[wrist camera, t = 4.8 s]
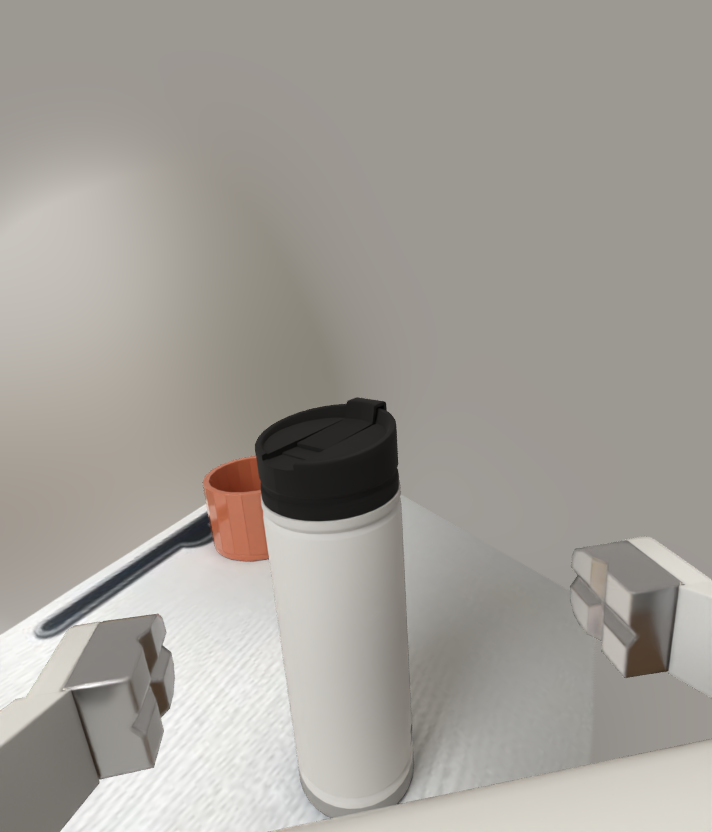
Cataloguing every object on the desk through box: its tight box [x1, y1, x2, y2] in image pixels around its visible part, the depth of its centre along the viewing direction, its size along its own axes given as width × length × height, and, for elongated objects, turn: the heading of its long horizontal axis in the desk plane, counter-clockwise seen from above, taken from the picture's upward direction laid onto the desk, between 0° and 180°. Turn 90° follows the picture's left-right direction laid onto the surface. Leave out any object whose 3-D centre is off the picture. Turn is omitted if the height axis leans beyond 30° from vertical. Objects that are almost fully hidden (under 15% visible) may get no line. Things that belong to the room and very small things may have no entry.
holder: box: [203, 456, 269, 561], centre depth 50 cm, size 10×10×7 cm
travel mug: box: [255, 398, 414, 818], centre depth 24 cm, size 6×7×20 cm
